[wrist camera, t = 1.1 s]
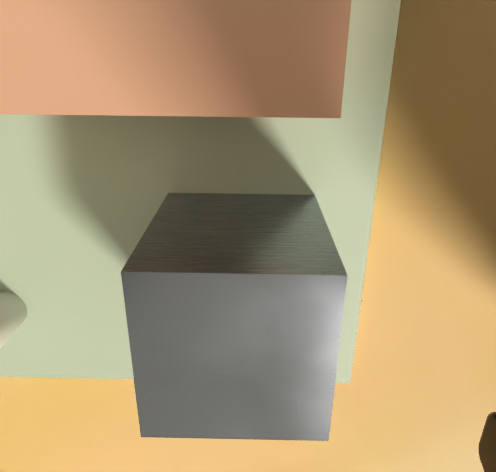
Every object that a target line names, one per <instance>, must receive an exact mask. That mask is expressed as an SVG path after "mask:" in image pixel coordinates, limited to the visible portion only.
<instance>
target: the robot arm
mask: <svg viewBox="0 0 496 472" xmlns="http://www.w3.org/2000/svg"><path fill="white" fill-rule="evenodd" d="M479 456H480V460H481V463H482V466H483V469H484V472H496V412H492V413H490V414H489V415H488V417H487V419H486V423H485V426H484V429H483V433H482V436H481V439H480V442H479Z"/></svg>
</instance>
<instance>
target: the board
mask: <svg viewBox="0 0 496 472" xmlns="http://www.w3.org/2000/svg"><path fill="white" fill-rule="evenodd" d="M400 6H401V0H352V2H351V13H350V24H349V35H348V45H347V56H346V67H345V78H344V88H343V99H342V110H341V118H276V117H193V116H110V115H27V114H0V377H41V378H95V379H134V376H133V368H132V359H131V351H130V343H129V335H128V327H127V319H126V311H125V302H124V294H123V286H122V278H121V271H122V269H123V267H124V266H125V264H126V262H127V261H128V259H129V257H130V256H131V254H132V252H133V251H134V249H135V247H136V246H137V244H138V242H139V241H140V239H141V237H142V236H143V234H144V232H145V231H146V229H147V227H148V226H149V224H150V222H151V221H152V219H153V217H154V216H155V214H156V212H157V211H158V209H159V207H160V206H161V204H162V202H163V201H164V199H165V197H166V196H167V194H168V193H225V194H297V195H315V196H316V199H317V201H318V204H319V206H320V209H321V211H322V214H323V216H324V219H325V221H326V223H327V226H328V228H329V231H330V233H331V236H332V238H333V241H334V243H335V246H336V248H337V251H338V253H339V256H340V258H341V260H342V263H343V265H344V268H345V270H346V273H347V275H348V276H347V285H346V293H345V302H344V311H343V319H342V328H341V336H340V345H339V354H338V362H337V371H336V380H335V383H350V380H351V373H352V365H353V358H354V350H355V343H356V335H357V328H358V320H359V313H360V305H361V298H362V290H363V283H364V275H365V268H366V260H367V253H368V245H369V238H370V230H371V223H372V215H373V208H374V200H375V193H376V185H377V178H378V170H379V163H380V155H381V148H382V140H383V133H384V125H385V118H386V110H387V103H388V96H389V88H390V81H391V73H392V66H393V58H394V51H395V43H396V36H397V28H398V21H399V13H400Z"/></svg>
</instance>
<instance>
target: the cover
mask: <svg viewBox="0 0 496 472" xmlns="http://www.w3.org/2000/svg"><path fill="white" fill-rule="evenodd" d="M351 2H352V0H0V114H27V115H110V116H193V117H276V118H341V110H342V99H343V88H344V78H345V67H346V56H347V45H348V35H349V24H350V13H351Z"/></svg>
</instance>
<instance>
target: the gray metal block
mask: <svg viewBox="0 0 496 472" xmlns="http://www.w3.org/2000/svg"><path fill="white" fill-rule="evenodd" d="M347 276H348V275H347V273H346V270H345V268H344V265H343V263H342V260H341V258H340V256H339V253H338V251H337V248H336V246H335V243H334V241H333V238H332V236H331V233H330V231H329V228H328V226H327V223H326V221H325V219H324V216H323V214H322V211H321V209H320V206H319V204H318V201H317V199H316V196H315V195H297V194H225V193H168V194H167V196H166V197H165V199H164V201H163V202H162V204H161V206H160V207H159V209H158V211H157V212H156V214H155V216H154V217H153V219H152V221H151V222H150V224H149V226H148V227H147V229H146V231H145V232H144V234H143V236H142V237H141V239H140V241H139V242H138V244H137V246H136V247H135V249H134V251H133V252H132V254H131V256H130V257H129V259H128V261H127V262H126V264H125V266H124V267H123V269H122V271H121V278H122V286H123V294H124V302H125V311H126V319H127V327H128V335H129V343H130V351H131V359H132V368H133V376H134V384H135V392H136V400H137V408H138V416H139V424H140V433H141V437H164V438H214V439H264V440H314V441H328V440H329V431H330V423H331V414H332V406H333V397H334V388H335V380H336V371H337V362H338V354H339V345H340V336H341V328H342V319H343V311H344V302H345V293H346V285H347Z"/></svg>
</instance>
